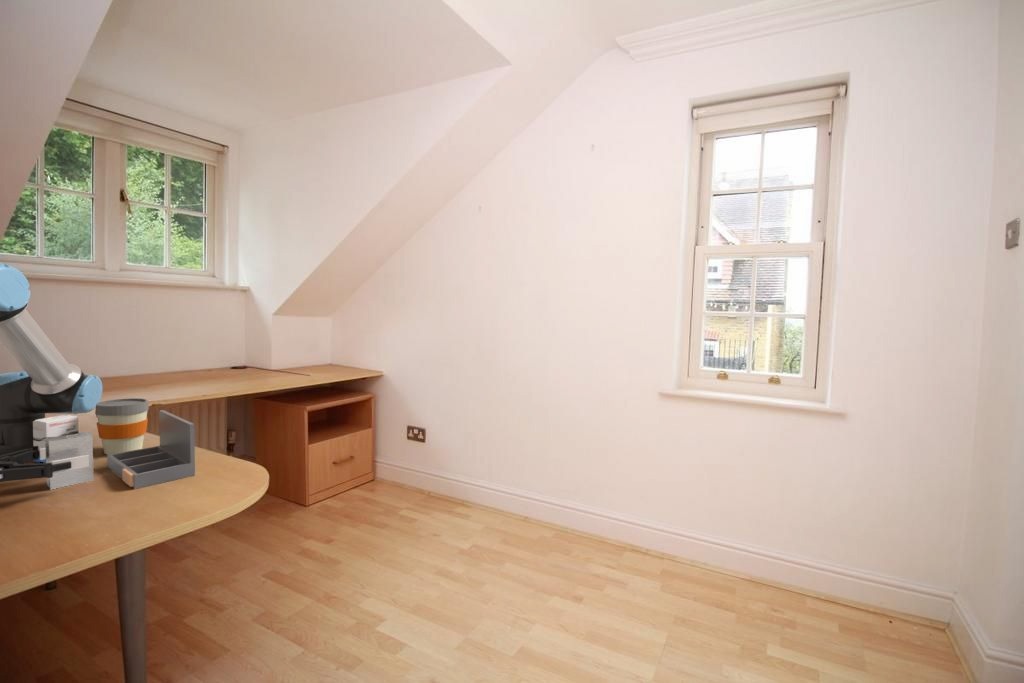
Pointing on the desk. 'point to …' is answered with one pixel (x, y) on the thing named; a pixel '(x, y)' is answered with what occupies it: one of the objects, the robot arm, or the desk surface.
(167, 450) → the rack
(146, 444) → the desk surface
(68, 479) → the brushed metal block
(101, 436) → the reusable coffee cup
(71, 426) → the ink box
